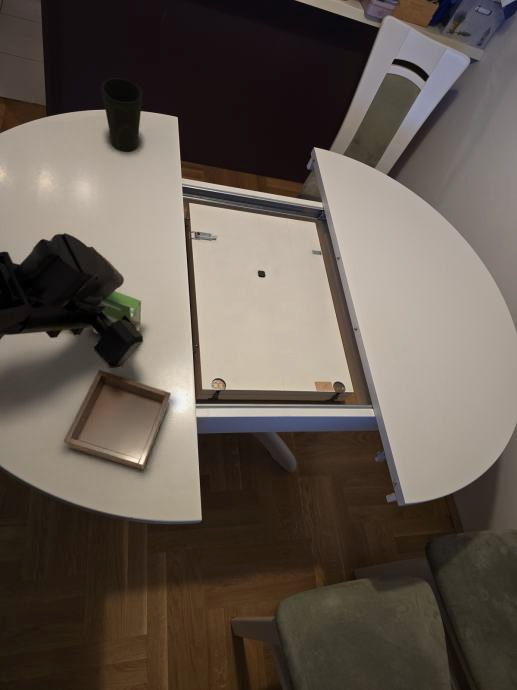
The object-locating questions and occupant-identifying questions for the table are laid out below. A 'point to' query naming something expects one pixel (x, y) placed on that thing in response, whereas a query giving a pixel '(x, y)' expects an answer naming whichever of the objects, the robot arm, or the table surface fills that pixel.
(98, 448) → the holder
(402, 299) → the table surface
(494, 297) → the table surface
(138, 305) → the ink box
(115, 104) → the cup
